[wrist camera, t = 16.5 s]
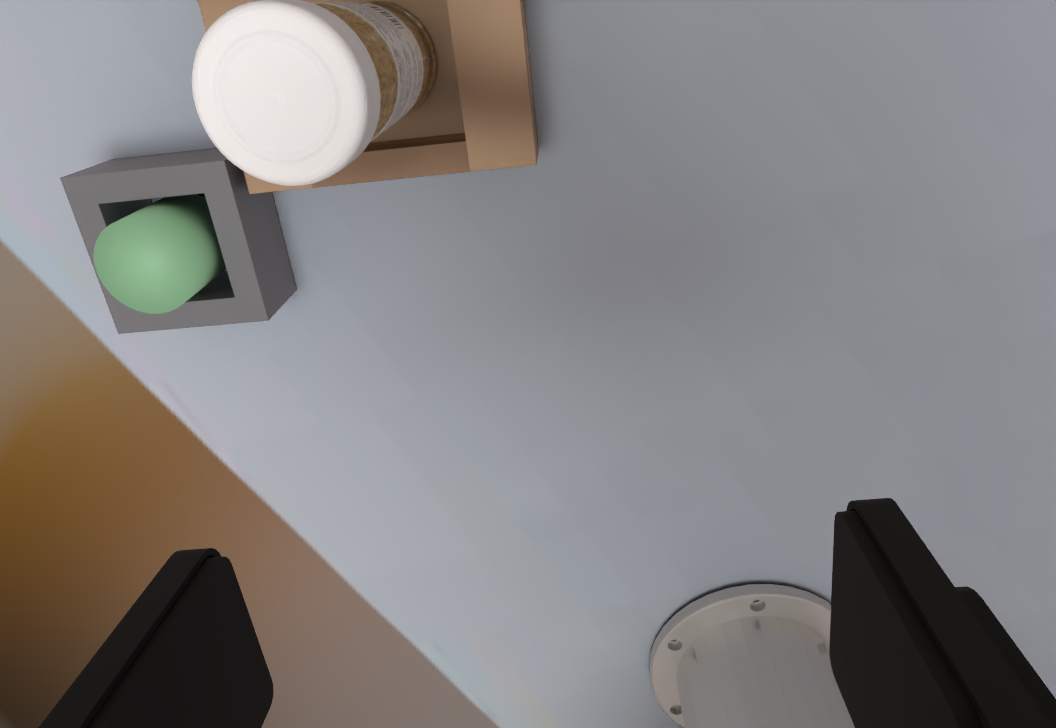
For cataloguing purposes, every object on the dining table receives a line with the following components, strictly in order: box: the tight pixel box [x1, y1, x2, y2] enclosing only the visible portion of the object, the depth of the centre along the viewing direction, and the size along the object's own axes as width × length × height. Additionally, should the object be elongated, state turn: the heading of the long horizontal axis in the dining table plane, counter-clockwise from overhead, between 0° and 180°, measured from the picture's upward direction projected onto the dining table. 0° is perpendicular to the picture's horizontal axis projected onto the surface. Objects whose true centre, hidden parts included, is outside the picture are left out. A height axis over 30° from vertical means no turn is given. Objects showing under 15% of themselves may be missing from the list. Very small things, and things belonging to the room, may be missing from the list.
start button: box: [94, 194, 226, 314], centre depth 32 cm, size 4×4×4 cm
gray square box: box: [60, 148, 297, 334], centre depth 34 cm, size 7×7×4 cm
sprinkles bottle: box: [192, 0, 437, 186], centre depth 25 cm, size 5×5×14 cm
